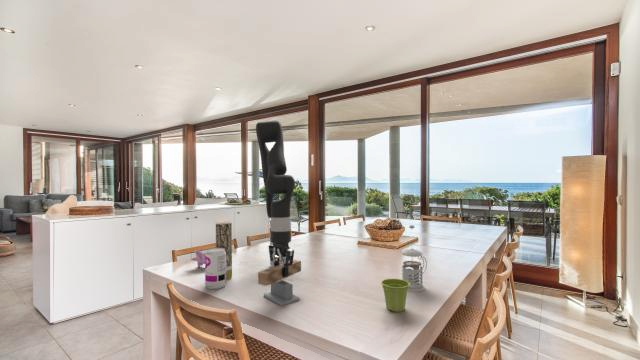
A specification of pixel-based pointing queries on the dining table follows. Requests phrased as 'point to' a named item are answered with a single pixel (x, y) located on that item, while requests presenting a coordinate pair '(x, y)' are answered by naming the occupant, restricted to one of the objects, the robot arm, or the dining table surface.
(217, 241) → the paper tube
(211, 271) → the supplement can
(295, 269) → the batten
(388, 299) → the plant pot
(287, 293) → the ridge
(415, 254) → the french press
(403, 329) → the dining table surface
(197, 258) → the lily
